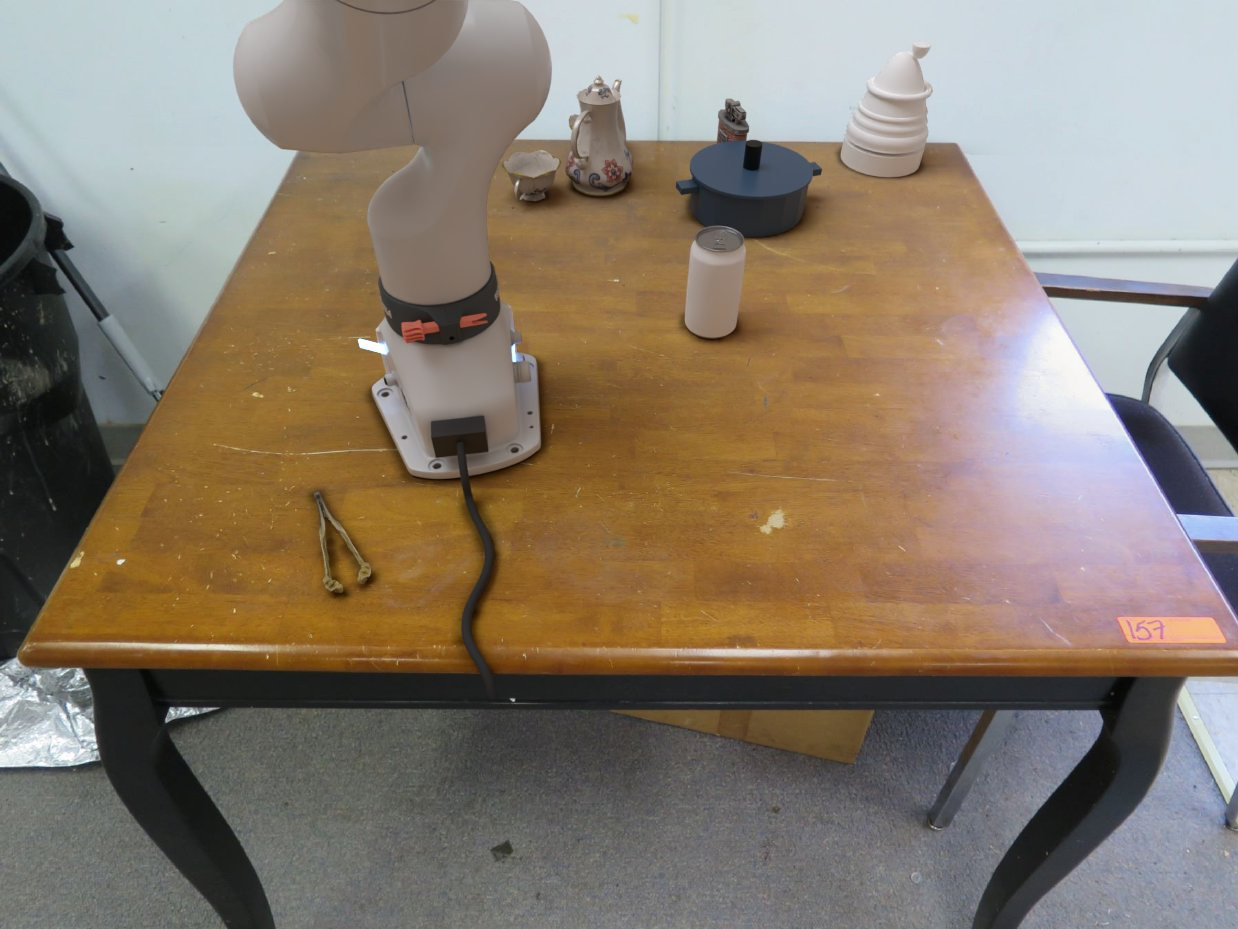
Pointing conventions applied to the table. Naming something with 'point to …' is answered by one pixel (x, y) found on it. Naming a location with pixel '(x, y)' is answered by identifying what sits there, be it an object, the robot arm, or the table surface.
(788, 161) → the lid
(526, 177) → the chinaware
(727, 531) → the table surface
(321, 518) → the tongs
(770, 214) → the pot
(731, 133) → the lighter
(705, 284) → the can
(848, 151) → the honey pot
